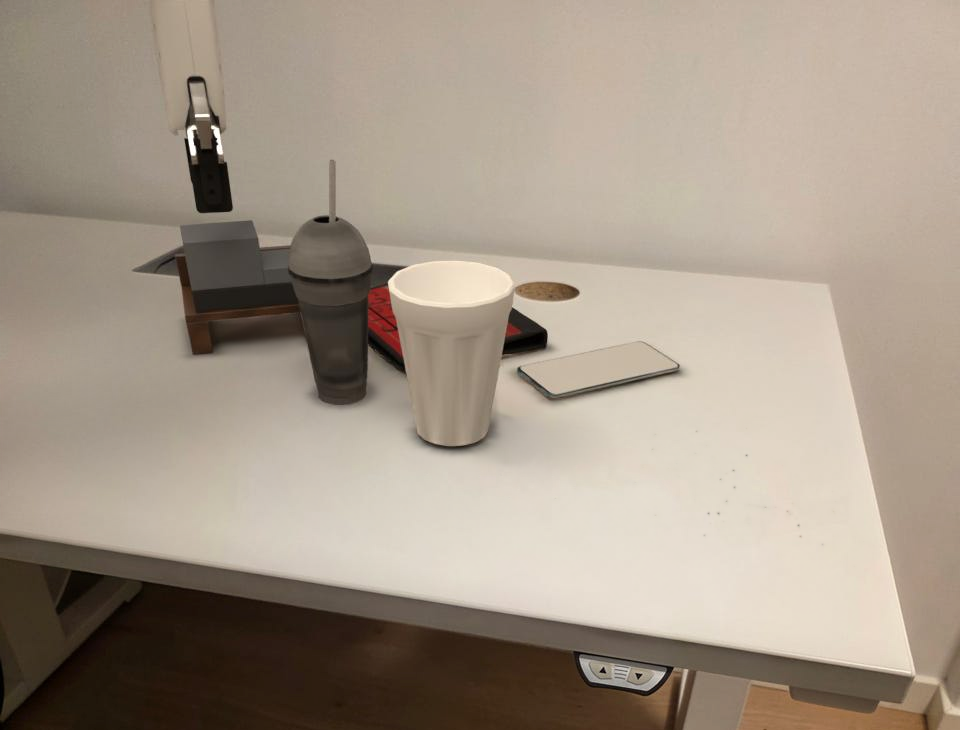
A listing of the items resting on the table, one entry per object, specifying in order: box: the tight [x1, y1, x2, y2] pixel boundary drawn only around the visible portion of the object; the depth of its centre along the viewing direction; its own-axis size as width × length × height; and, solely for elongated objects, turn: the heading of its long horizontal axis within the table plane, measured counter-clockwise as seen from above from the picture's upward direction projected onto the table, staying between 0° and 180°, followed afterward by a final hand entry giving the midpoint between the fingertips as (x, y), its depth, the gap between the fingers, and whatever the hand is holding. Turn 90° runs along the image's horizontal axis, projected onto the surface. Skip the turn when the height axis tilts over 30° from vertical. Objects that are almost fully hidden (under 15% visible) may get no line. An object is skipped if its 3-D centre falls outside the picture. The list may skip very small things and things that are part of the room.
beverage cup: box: [288, 159, 374, 406], centre depth 78 cm, size 7×7×20 cm
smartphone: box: [516, 340, 681, 399], centre depth 88 cm, size 7×1×15 cm
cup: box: [387, 260, 516, 447], centre depth 75 cm, size 10×10×13 cm
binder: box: [368, 282, 549, 372], centre depth 96 cm, size 16×2×21 cm
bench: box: [174, 244, 301, 355], centre depth 93 cm, size 14×9×7 cm, turn 106°
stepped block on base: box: [179, 219, 299, 312], centre depth 90 cm, size 12×6×6 cm, turn 107°
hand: (211, 197), depth 85 cm, fingers open, 9 cm apart
